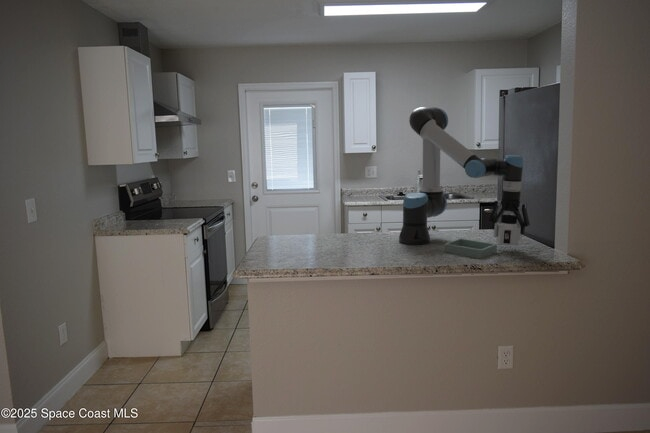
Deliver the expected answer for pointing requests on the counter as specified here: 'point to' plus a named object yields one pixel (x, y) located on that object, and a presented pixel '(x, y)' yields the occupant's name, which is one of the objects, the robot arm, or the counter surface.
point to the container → (508, 230)
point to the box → (470, 248)
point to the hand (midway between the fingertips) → (507, 238)
